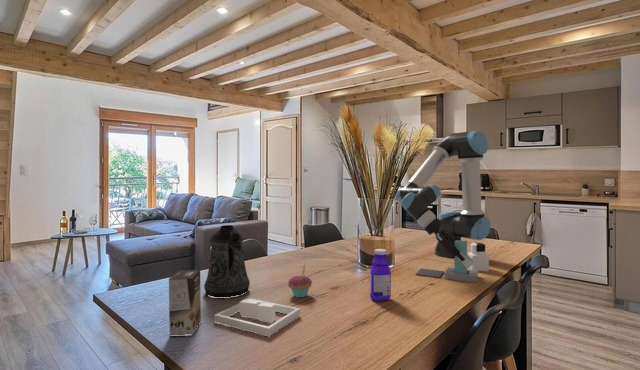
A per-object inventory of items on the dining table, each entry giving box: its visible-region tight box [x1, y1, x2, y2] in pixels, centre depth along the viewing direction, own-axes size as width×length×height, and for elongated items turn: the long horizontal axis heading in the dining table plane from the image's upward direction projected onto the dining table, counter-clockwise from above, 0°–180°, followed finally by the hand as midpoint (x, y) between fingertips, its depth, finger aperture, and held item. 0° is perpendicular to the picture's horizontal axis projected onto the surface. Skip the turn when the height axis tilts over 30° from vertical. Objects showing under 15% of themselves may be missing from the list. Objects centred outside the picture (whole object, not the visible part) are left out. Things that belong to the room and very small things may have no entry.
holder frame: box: [213, 297, 301, 336], centre depth 107 cm, size 16×20×2 cm
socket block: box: [444, 266, 479, 284], centre depth 149 cm, size 10×12×2 cm
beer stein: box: [203, 224, 251, 297], centre depth 132 cm, size 16×19×25 cm
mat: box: [415, 268, 445, 279], centre depth 155 cm, size 10×10×1 cm
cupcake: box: [287, 263, 313, 298], centre depth 128 cm, size 9×8×12 cm
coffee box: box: [168, 269, 202, 336], centre depth 101 cm, size 9×6×16 cm
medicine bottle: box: [467, 242, 490, 272], centre depth 161 cm, size 7×7×12 cm
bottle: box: [369, 248, 392, 302], centre depth 124 cm, size 7×6×17 cm
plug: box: [453, 239, 468, 274], centre depth 148 cm, size 4×4×15 cm
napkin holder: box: [239, 299, 277, 322], centre depth 107 cm, size 15×11×6 cm
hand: (470, 264), depth 146 cm, fingers closed on plug, 4 cm apart
